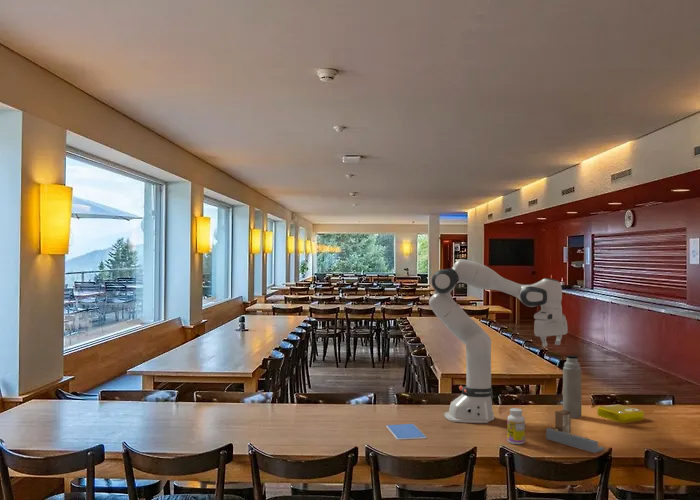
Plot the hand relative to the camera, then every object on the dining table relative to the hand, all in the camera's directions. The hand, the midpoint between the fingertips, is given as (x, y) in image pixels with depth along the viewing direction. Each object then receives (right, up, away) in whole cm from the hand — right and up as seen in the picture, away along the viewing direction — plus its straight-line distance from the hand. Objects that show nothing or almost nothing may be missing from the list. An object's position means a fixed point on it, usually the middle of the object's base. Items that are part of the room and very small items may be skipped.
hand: (551, 345), depth 253 cm
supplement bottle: (-24, -33, -30) cm, 51 cm away
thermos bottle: (+13, -35, +11) cm, 39 cm away
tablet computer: (-67, -34, -18) cm, 77 cm away
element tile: (+35, -35, +9) cm, 51 cm away
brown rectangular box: (-4, -34, -25) cm, 42 cm away
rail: (-2, -33, -31) cm, 46 cm away
